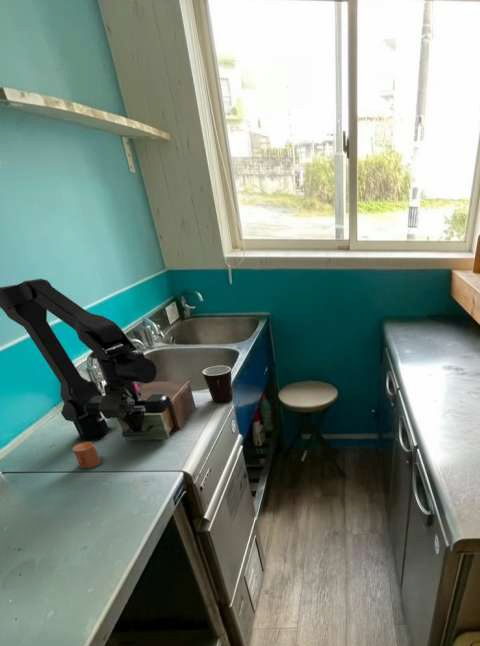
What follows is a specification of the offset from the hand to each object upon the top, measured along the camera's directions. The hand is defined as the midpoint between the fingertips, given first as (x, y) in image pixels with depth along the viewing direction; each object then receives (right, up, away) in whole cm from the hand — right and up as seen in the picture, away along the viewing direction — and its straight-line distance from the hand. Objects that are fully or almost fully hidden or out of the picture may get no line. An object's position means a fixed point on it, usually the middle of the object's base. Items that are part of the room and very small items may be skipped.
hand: (139, 434), depth 102 cm
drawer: (0, +1, +7) cm, 8 cm away
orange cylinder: (-10, -8, -4) cm, 13 cm away
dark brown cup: (+12, +13, +26) cm, 32 cm away
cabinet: (-1, +6, +16) cm, 17 cm away
